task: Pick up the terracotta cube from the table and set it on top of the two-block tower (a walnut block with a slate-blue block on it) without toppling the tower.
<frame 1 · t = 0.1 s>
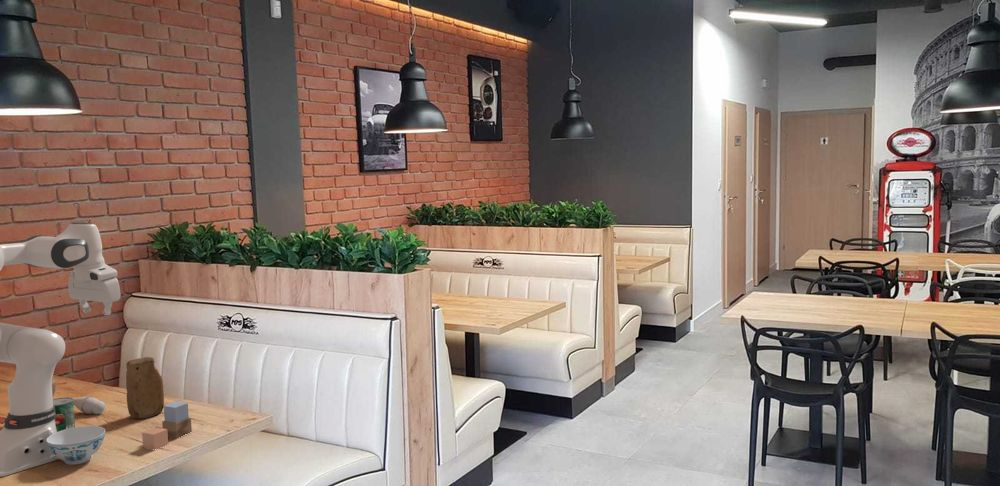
hand: (97, 313, 238), 39 cm above the table, fingers open, 8 cm apart
cube: (155, 446, 228), on the table
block: (146, 415, 256), on the table
tower mid: (176, 419, 237), point 5 cm above the table, touching tower base
chinaware: (78, 460, 218), on the table
canned tomato: (61, 434, 239), on the table
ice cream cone: (85, 413, 259), on the table
tower base: (177, 434, 238), on the table, touching tower mid
stone cup: (37, 421, 252), on the table
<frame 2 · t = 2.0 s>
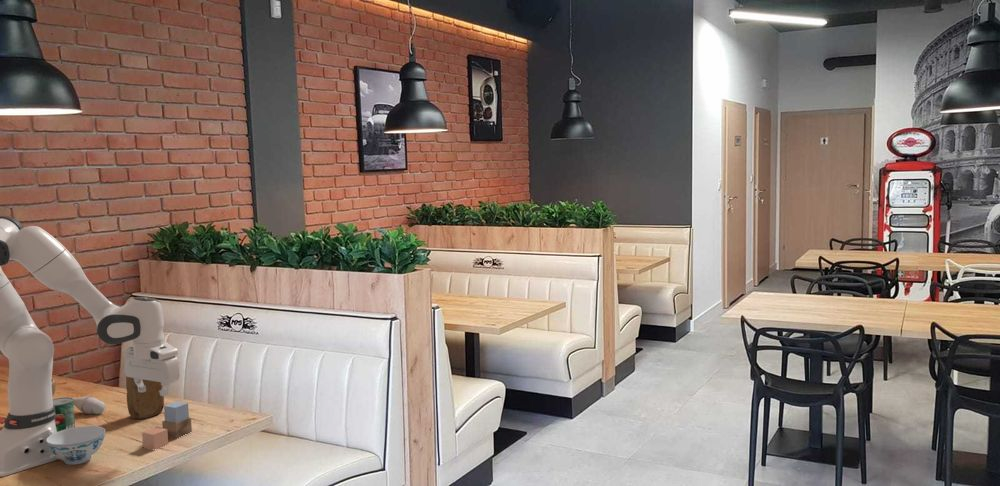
hand: (152, 393, 226), 17 cm above the table, fingers open, 8 cm apart
nothing on the table moved.
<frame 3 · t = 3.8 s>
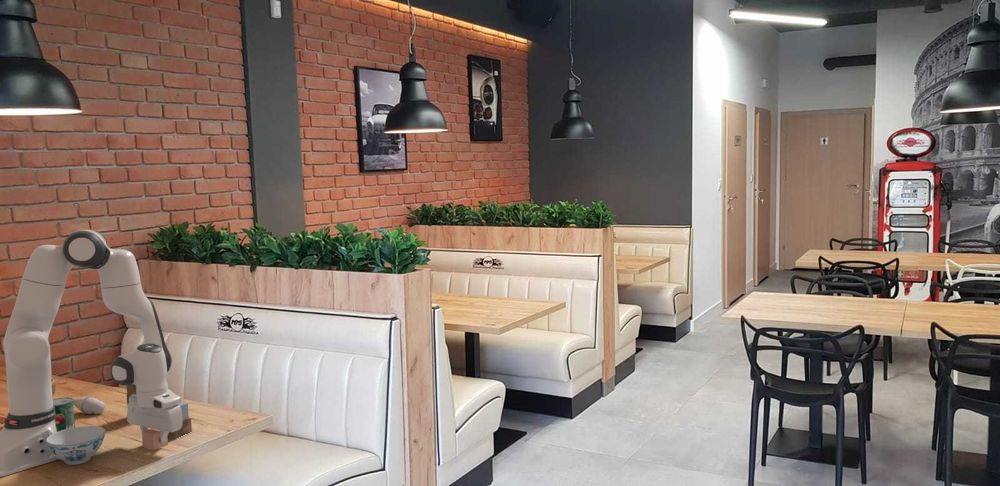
hand: (155, 440, 228), 2 cm above the table, fingers closed on cube, 5 cm apart
cube: (155, 446, 228), on the table, touching gripper
everything else where it was.
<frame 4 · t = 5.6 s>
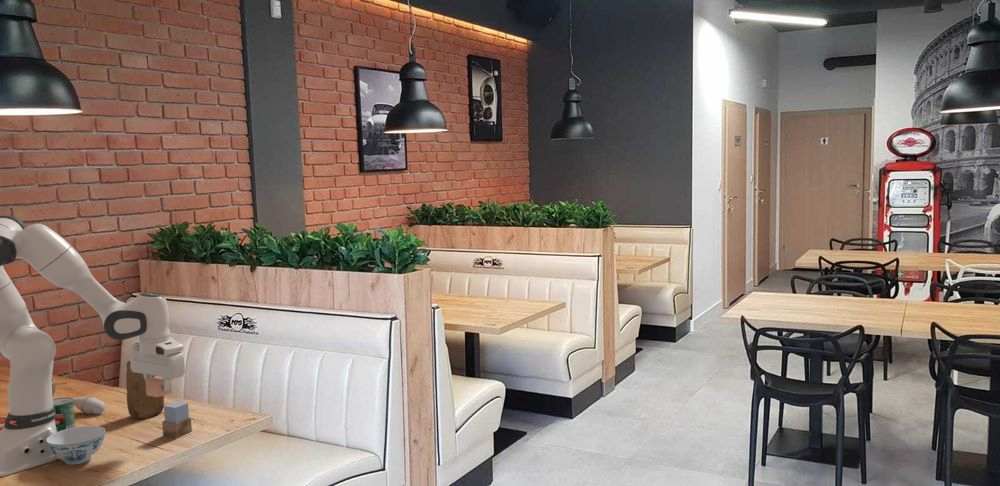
hand: (158, 389, 228), 17 cm above the table, fingers closed on cube, 5 cm apart
cube: (159, 394, 228), point 16 cm above the table, touching gripper
everything else where it was.
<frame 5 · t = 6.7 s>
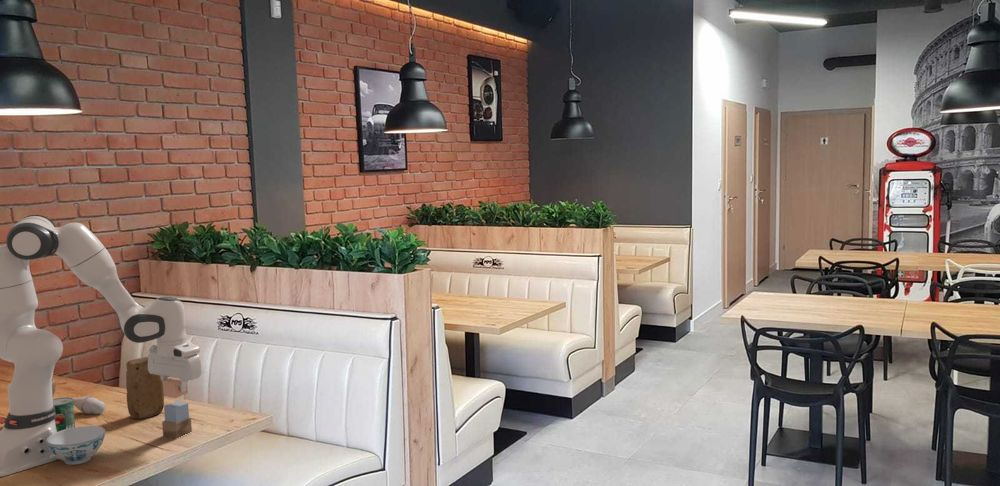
hand: (175, 389, 236), 15 cm above the table, fingers closed on cube, 5 cm apart
cube: (175, 394, 236), point 13 cm above the table, touching gripper
everything else where it was.
when the fingers open (13 cm above the table, at t = 7.5 s): cube drops 1 cm, resting on tower mid.
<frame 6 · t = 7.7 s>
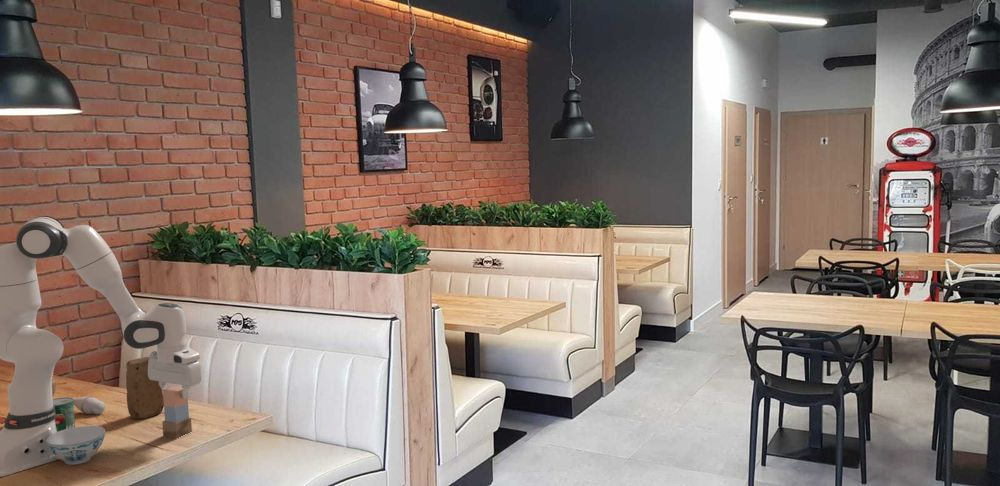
hand: (175, 396, 236), 13 cm above the table, fingers open, 7 cm apart
cube: (175, 404, 237), point 10 cm above the table, touching tower mid
tower mid: (177, 419, 237), point 5 cm above the table, touching cube, tower base
everything else where it was.
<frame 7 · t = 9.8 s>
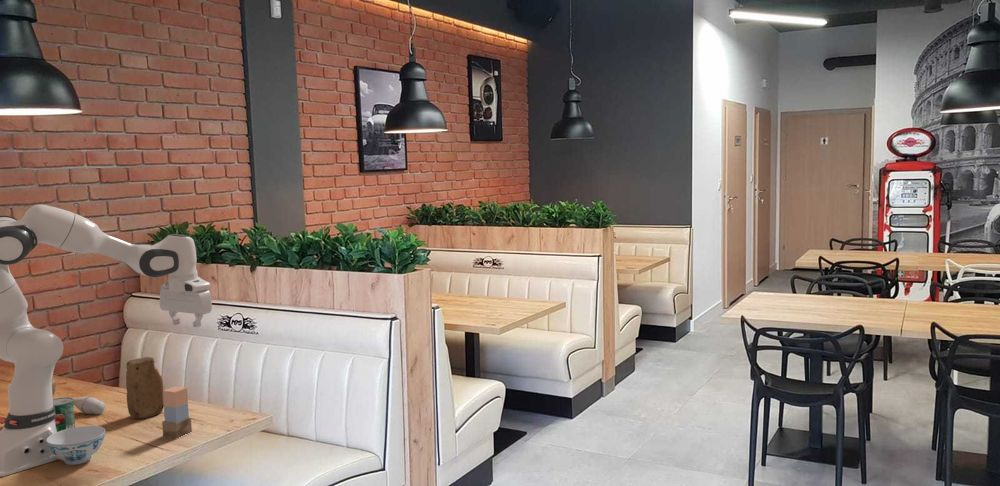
hand: (186, 325, 241), 34 cm above the table, fingers open, 8 cm apart
nothing on the table moved.
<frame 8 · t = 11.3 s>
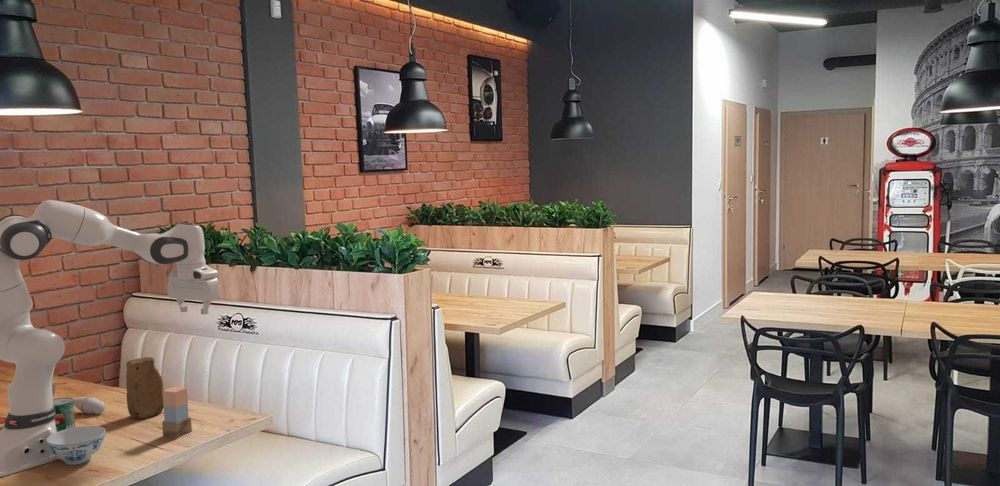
hand: (194, 312, 246), 37 cm above the table, fingers open, 8 cm apart
nothing on the table moved.
at the end: cube 0.1 cm off-centre on the tower mid, point 5.0 cm above the tower mid's base; tower mid tilted 0°; cube point 9.9 cm above the table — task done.
